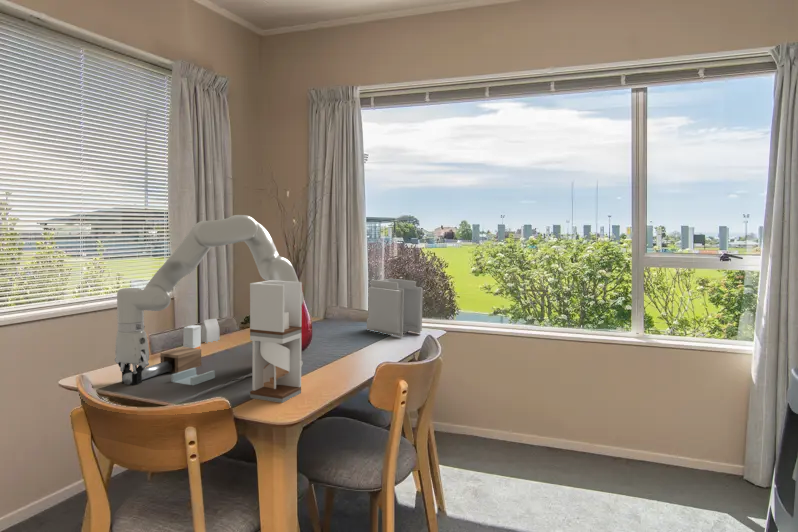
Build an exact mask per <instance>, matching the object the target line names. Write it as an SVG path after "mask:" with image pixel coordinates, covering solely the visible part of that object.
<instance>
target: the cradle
mask: <svg viewBox="0 0 798 532" xmlns="http://www.w3.org/2000/svg"><path fill="white" fill-rule="evenodd" d="M170 376H171V377H170V379H171V380H170V381H171V383H177V384H181V385H187V386H195V385H199V384H201V383H204V382H207V381H210V380H212V379H215V378H216V371H215V370H209V371H207V372H204V373H200V374H197V367H196V368H191V369H188V370H185V371H181V372H178V373H175V372H174V373H171V375H170Z"/></svg>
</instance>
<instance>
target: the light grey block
mask: <svg viewBox="0 0 798 532" xmlns="http://www.w3.org/2000/svg"><path fill="white" fill-rule="evenodd" d="M218 322H219V321H218V318H208V319H204V320H203V322H202V326H201V343H203V342H206V343H205V344H209V343H208V342H211V343H214V342H213V341H216V342H219V341H218V340H221V339H220V326H219V323H218Z"/></svg>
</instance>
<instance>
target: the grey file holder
mask: <svg viewBox="0 0 798 532" xmlns="http://www.w3.org/2000/svg"><path fill="white" fill-rule="evenodd" d="M423 290H424V289H423V287H421V286H419V287H418V286H417V282H416V281H414V280H407V279H397V278H390V277H388V279H371V282H370V286H369V287H368V306H367V307H368V313H367V314H368V317H367V318H366V330H367V329H369V330H374V331H378V332H382V333H386V334H389V335H391V334H393V335H392V336H398V337H404V334H407V333H406V332H408V333H409V332H413V333H417V334H421V332H422V331H423V296H424V295H423V293H424V292H423ZM403 333H404V334H403Z"/></svg>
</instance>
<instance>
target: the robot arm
mask: <svg viewBox="0 0 798 532" xmlns="http://www.w3.org/2000/svg"><path fill="white" fill-rule="evenodd" d="M243 242H244V243H245V245H247V247H248V248H249V251H250V253H251V255H252V258H253V260H254V262H255V266H256V268H257V271H258V274H259V276H260V277H261V278H262V279H263V281H269V280H273V281H290V282H300V281H299V278H298V276H297V273H296V270H295V268H294V266H293V263H291V261H290V260H289V259H288V258H286V257H283V256H280V254H279V251H278V249H277V247H276V244H275V243H274V240H273V238H272V237H271V235H270V233H269V231H268V230H267V229H266V228H265V227H264V226H263V225H262V224H261V223H259V222H258V221H257V220H255V219H254V218H253V217H252V216H250V215H247V214H235V215H231V216H230V217H227V218H221V219H216V220H215V219H214V220H201V221H198V222H197V223H195V224H194V225H193V227H192V228H191V229H190V231H189V232H188V233H187V234H186V236H185V237H184V239H183V240H182V241H181V243H180V244H179V245H178V246H177V248H176V249H175V250H174V251H173V253H172V254H171V255H170V256H169V257H168V258H167V260H166V261H165V262H164V263H163V264H162V265H161V267H159V269H158V270H157V271H156V272H155V273H154V275H153V276H152V277H151V279H150V280H149V281H148V282H147V284H146V286H145V287H144V288H143V289H141V288H139V287H125V288H120V289H118V291H117V293H116V305H117V307H116V308H117V309H116V313H117V315H116V316H117V318H116V319H117V331H116V336H115V348H114V349H115V350H114V351H115V359H114V362H115V363H116V364H117V365H118V367H119V369H120V370H119V371H120V372H121V379H122V380H121V384H125V383H124V382H123V375H124V374H126V373H129V372H133V374H132V384H131V385H132V386H136V385H140V384H141V383H142V381H143V380H142V372H143V369H144V368H146V367H149V366H150V363H149V360H150V351H149V349H150V347H149V340H148V335H147V331H146V330H145V327H146V326H145V315H144V314H145V313H144V311H151V312H160V311H164V310H165V309H167V308H168V307H169V306H170V304H171V302H172V301H171V300H172V297H171V294H170V293H171V292H172V290H173V289H174V288H175V286H176V285H177V284H178V283H180V281H181V280H182V279H183V278H184V277H186V276H188V275H190V274H191V273H192V272H194V271H195V270H196V268H198V266H199V264H200V263H201V261H203V259H204V257H205V256H206V255H207V254H208V252H209V251H210V250H211V249H212V248H214V247H222V246H226V245H227V246H228V245H231V244H232V245H233V244H238V243H243ZM304 301H305V299H304V292H303V291H302V305H303V303H304ZM303 364H304V361H303V360H301V368H302V366H303ZM131 365H132V369H131Z"/></svg>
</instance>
